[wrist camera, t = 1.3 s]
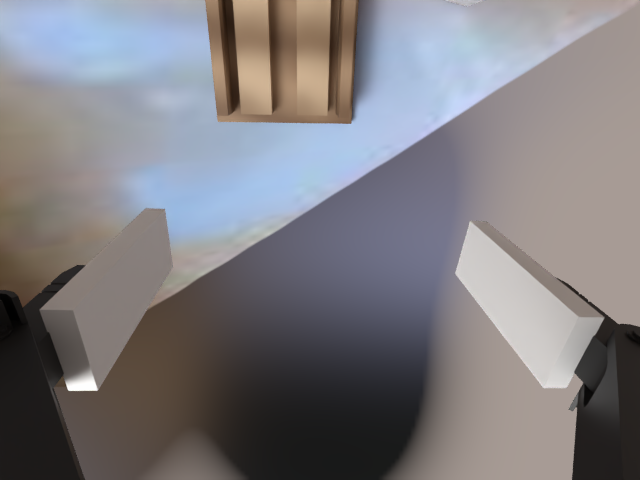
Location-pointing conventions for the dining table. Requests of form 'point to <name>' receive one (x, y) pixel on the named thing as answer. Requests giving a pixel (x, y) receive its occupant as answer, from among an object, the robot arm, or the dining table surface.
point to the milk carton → (465, 2)
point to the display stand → (283, 59)
